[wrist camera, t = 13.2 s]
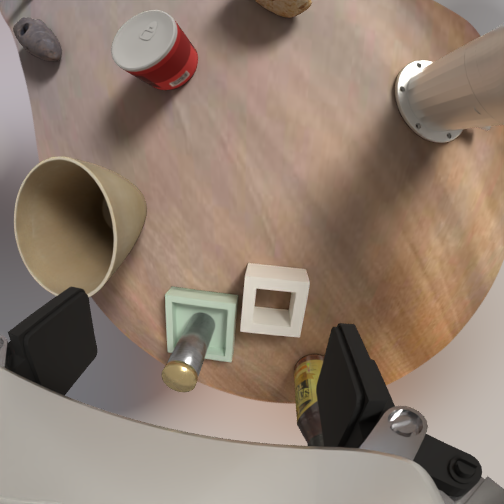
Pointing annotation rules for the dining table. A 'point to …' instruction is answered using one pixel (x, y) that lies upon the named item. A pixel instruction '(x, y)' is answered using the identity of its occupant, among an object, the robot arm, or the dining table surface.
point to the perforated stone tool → (38, 39)
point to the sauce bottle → (308, 398)
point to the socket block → (272, 318)
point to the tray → (212, 303)
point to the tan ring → (285, 6)
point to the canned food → (155, 50)
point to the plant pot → (76, 223)
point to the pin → (189, 353)
